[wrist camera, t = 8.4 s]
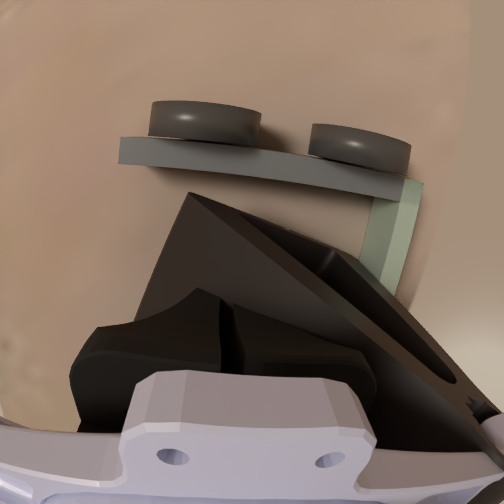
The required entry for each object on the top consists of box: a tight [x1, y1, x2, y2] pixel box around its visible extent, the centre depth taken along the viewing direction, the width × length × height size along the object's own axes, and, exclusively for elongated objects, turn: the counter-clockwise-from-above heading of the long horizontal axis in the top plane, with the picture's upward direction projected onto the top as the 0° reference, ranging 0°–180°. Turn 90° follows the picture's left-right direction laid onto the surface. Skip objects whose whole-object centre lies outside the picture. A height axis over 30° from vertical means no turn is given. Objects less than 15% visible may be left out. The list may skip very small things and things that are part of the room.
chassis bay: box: [118, 101, 424, 296], centre depth 13 cm, size 14×12×4 cm
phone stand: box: [133, 192, 504, 504], centre depth 9 cm, size 9×6×12 cm, turn 62°
